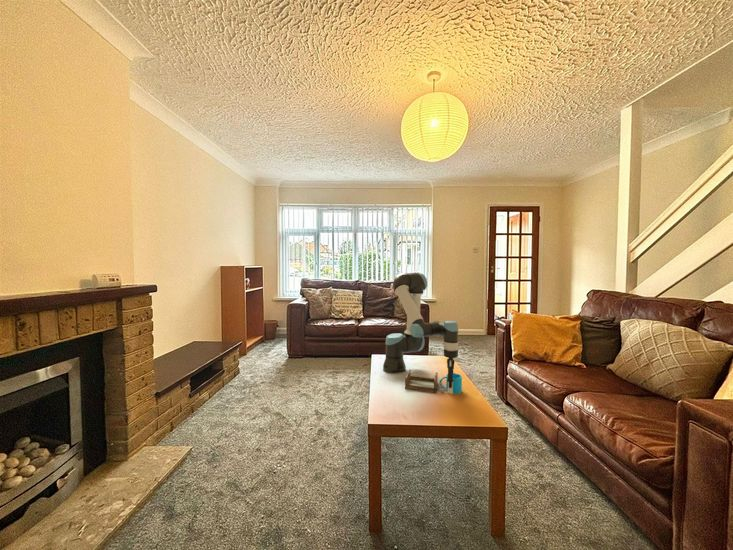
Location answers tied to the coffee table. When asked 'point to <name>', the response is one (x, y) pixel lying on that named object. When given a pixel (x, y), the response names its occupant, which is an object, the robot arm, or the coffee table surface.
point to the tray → (420, 383)
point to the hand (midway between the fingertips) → (450, 389)
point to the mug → (454, 383)
